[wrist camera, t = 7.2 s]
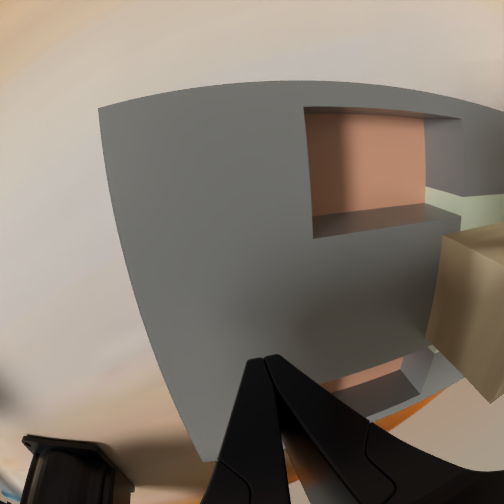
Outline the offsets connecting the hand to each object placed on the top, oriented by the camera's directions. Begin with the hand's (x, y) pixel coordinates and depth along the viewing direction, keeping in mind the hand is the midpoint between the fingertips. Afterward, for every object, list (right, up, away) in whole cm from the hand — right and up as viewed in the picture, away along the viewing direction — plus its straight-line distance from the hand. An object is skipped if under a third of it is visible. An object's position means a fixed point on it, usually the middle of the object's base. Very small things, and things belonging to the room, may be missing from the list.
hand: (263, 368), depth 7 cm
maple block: (+9, +2, +2) cm, 9 cm away
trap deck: (+4, +2, +4) cm, 6 cm away
